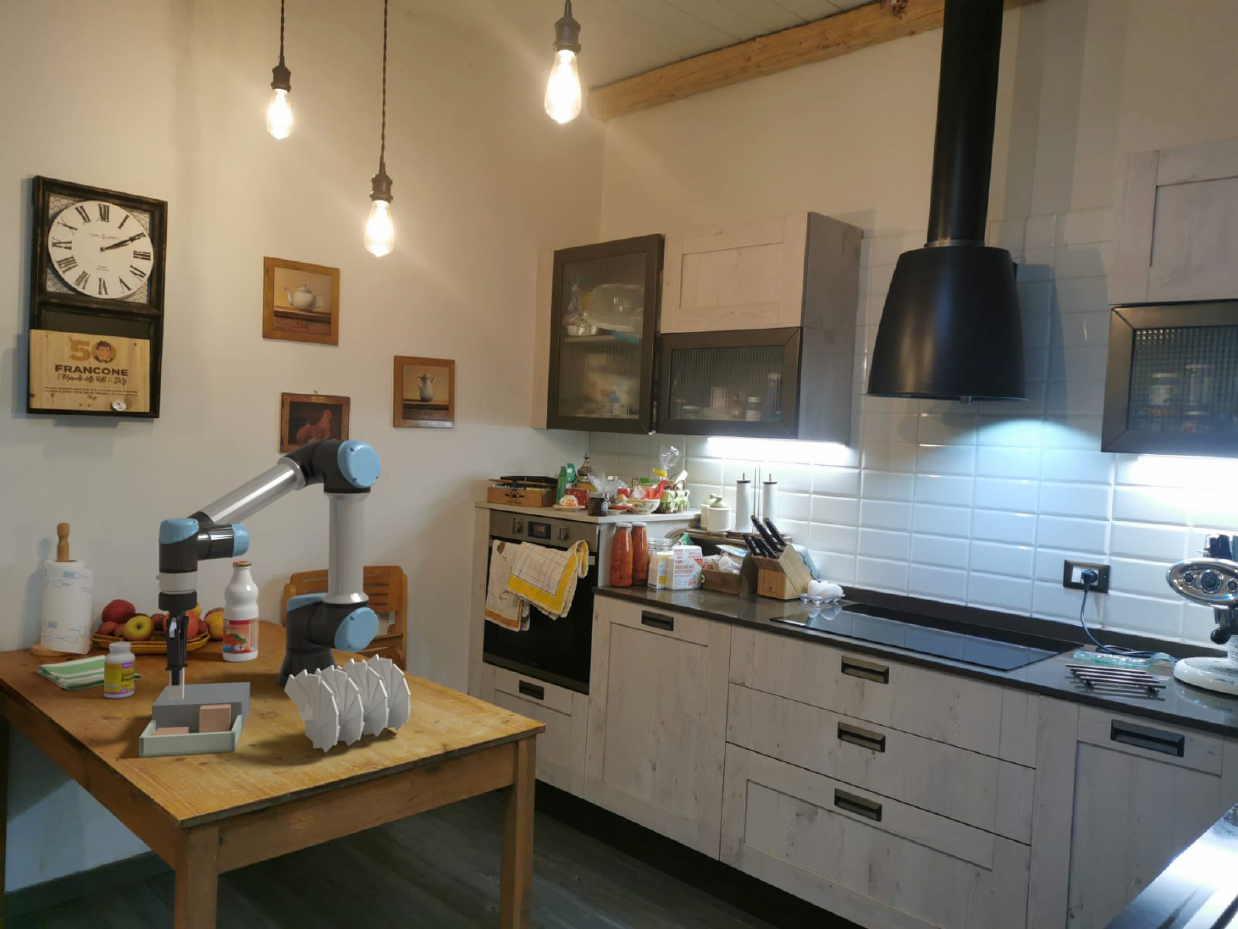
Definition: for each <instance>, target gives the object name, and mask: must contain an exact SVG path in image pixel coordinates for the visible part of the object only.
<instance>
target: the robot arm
mask: <svg viewBox="0 0 1238 929" xmlns="http://www.w3.org/2000/svg"><path fill="white" fill-rule="evenodd" d="M380 474H381V460H380V457H379V455H378V453H377V451H376V449H374V448H373V446H372V445H370V444H368V443H366V442H363V441H358V440H355V439H354V440H353V439H349V440H347V439H330V438H329V439H328V438H322V439H316V440H314V441H311V442H308V443H306V444H303V445H301V446H300V447H298V448H296V449H294V450H292V451H290V452H289V453H286V455H283V456H282V457H279V459H277V462H276V465H274V466H272V467H271V468H270V469H267V470H266V471H263V472H262V473H261V474H259V475H257V476H255V477H253V478H252V479H251V480H248V481H247V482H245V483H243V484H241V485H240V486H239V487H237V488H235V489H234V490H231V491H230V492H228V493H227V494H225V495H223V496H221V497H220V498H218V499H216V500H214V501H213V502H211V503H210V504H208V505H206V506H204V507H202V508H201V509H199V510H198V511H196V512H194V513H192V514H190V515H189V516H186V517H174V518H166V519H164V520H162V521H161V522H160V524H159V531H158V532H159V533H158V571H159V572H158V574H157V575H156V576H155V579H156V580H157V581H159V582H158V590H159V591H160V592H159V593H158V598H157V599H158V601H157V602H158V603H157V604H158V606H157V608H158V610H160V611H162V612H168V613H169V614H168V618H166V619H165V630H164V633H165V641H166V664H167V667H165V669H164V670H165V671H166V672H168V674H169V676H168V678H169V679H168V685H169V700H183V698H184V685H185V668H188V667H189V663H186V661H187V653H188V652H187V650H188V649H187V648H188V636H189V635H188V633H189V631H188V630H189V623H190V616H189V615H187V611H190V610H195V608H197V605H198V592H197V590H196V589H197V588H198V587H199V585H198V582H199V581H198V580H199V576H198V575H199V570H198V566H199V562H202V561H208V560H217V559H228V558H229V559H232V558H235V557H241V556H243V555H245V554H246V553H247V552H248V550H249V548H250V545H251V544H250V540H251V537H250V533H249V530H248V529H247V527H246V526H245V525H243V524H241V523H242V522H243V521H245V520H246V519H249V518H250V517H252V516H254V514H256V513H258V512H260V511H261V510H263V509H265V508H266V507H267V506H269V505H271V504H273V503H274V502H276V501H278V500H279V499H280V498H282V497H284V496H286V495H287V494H289V493H290V492H292V491H301V490H303V489H305V488H306V487H309V486H311V485H316V484H323V494H324V496H326V497H327V498H328V500H329V507H328V508H329V510H328V512H329V513H328V514H329V515H328V516H329V519H328V520H329V521H328V527H329V528H328V576H327V577H328V583H327V584H328V585H327V588H328V590H327V592H319V593H307V594H301V595H295V596H292V597H290V598H289V599H288V600H287V601H286V603H287V604H286V611H285V654H284V657H283V660H282V663H281V664H280V668H279V671H278V674H277V675H278V678H277V680H278V681H277V683H278V684H279V685H280V686H283V687H285V686H286V684H287V681H288V678H289V676H290V675H293V677H296V676H297V675H298V674H299V673H301V672H302V671H303V670H306V671H307V674H313V675H314V674H315V672H316V670H317V669H318V668H319V669H320V671H323V670H324V669H326V668H328V667H329V666H331V665H334V669H335V670H336V669H337V666H338V665H337V663H336V660H335V657H334V653H333V650H338V651H339V652H345V653H346V652H348V653H356V652H360V651H362V650H364V649H365V648H367V647H368V646H369V645H370V643H371V642H372V641H373V639H374V638H375V636H376V633H377V631H378V628H379V627H378V626H379V620H378V619H379V618H378V616H377V613H375V611H374V610H373V609H371V608H370V607H369V604H370V603H369V601H370V600H369V599H370V598H369V595H367V593H365V592H364V551H365V550H364V549H365V547H364V546H365V545H364V543H365V542H364V541H365V540H364V538H365V500H366V498H367V497H368V496H370V494H371V492H372V491H371V490H372V489H371V487H372V486H373V485H375V484H376V483H377V482H378V481H377V479H379V477H380Z"/></svg>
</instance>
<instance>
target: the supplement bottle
mask: <svg viewBox="0 0 1238 929" xmlns="http://www.w3.org/2000/svg"><path fill="white" fill-rule="evenodd" d="M131 648H132V643H131V642H129V641H115V642H111V643H110V644H109V646H108V650H109V653H108V654H107V655H105V661H104V685H103V695H104V697H105V698H108V699H123V698H127V697H130V696H132V695H133V694H134V693H135V673H136V672H135V671H136V656H135V654H134V653H133V652H131Z"/></svg>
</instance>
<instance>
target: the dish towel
mask: <svg viewBox="0 0 1238 929" xmlns="http://www.w3.org/2000/svg"><path fill="white" fill-rule="evenodd" d="M105 657H106V655H105V654H100V655H96V656H95V655H94V656H88V657H85V658H80V659H74V660H68V661H64V662H63V661H62V662H57V663H48V664H47V663H46V664H41V665H40V664H39V665H38V666H37V667H38V669H37V670H38V671H37V672H36V673H37V674H40V675H41V676H42V677H44V678H46V679H48V680H50V681H51V682H52V683H54V684H56V685H57V686H58V687H60V688H63V689H64V690H67V691H70V692H73V691H79V690H84V689H90V688H96V687H99V686H101V687H102V686H104V661H105ZM142 677H143V676H142V675H140V674H139V673H136V672H135V680H140V678H141V679H142ZM137 678H138V679H137Z"/></svg>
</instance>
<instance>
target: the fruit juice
mask: <svg viewBox="0 0 1238 929" xmlns="http://www.w3.org/2000/svg"><path fill="white" fill-rule="evenodd" d="M251 568H252V562H251V561H249V560H237V561H233V562H232V569H233V573H232V576H231V578H230V581H229V583H228V584H227V586H226V587H225V589H224V591H223V592H224V594H223V595H224V599H225V605H224V608H223V615H222V620H223V622H222V624H223V625H222V658H223V660H224V661H226V662H233V663H234V662H235V663H240V662H241V663H242V662H248V661H249V662H250V661H253V660H255V659H257V658H258V656H259V619H260V618H259V617H260V616H259V615H260V613H259V610H260V609H259V606H258V601H257V600H258V597H259V587H258V586H257V584H256V583H255V582H254V580H253V577H252V574H251Z"/></svg>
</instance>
